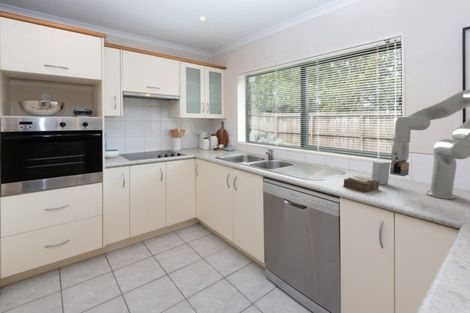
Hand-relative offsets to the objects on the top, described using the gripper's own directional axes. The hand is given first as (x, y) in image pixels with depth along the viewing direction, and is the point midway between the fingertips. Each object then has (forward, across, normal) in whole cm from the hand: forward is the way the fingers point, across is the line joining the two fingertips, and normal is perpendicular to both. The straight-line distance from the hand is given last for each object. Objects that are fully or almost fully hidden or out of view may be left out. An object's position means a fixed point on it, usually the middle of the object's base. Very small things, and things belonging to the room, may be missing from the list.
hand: (399, 172), depth 137 cm
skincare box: (+13, -16, -19) cm, 28 cm away
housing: (+1, 0, 0) cm, 1 cm away
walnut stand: (+12, +5, -19) cm, 23 cm away
